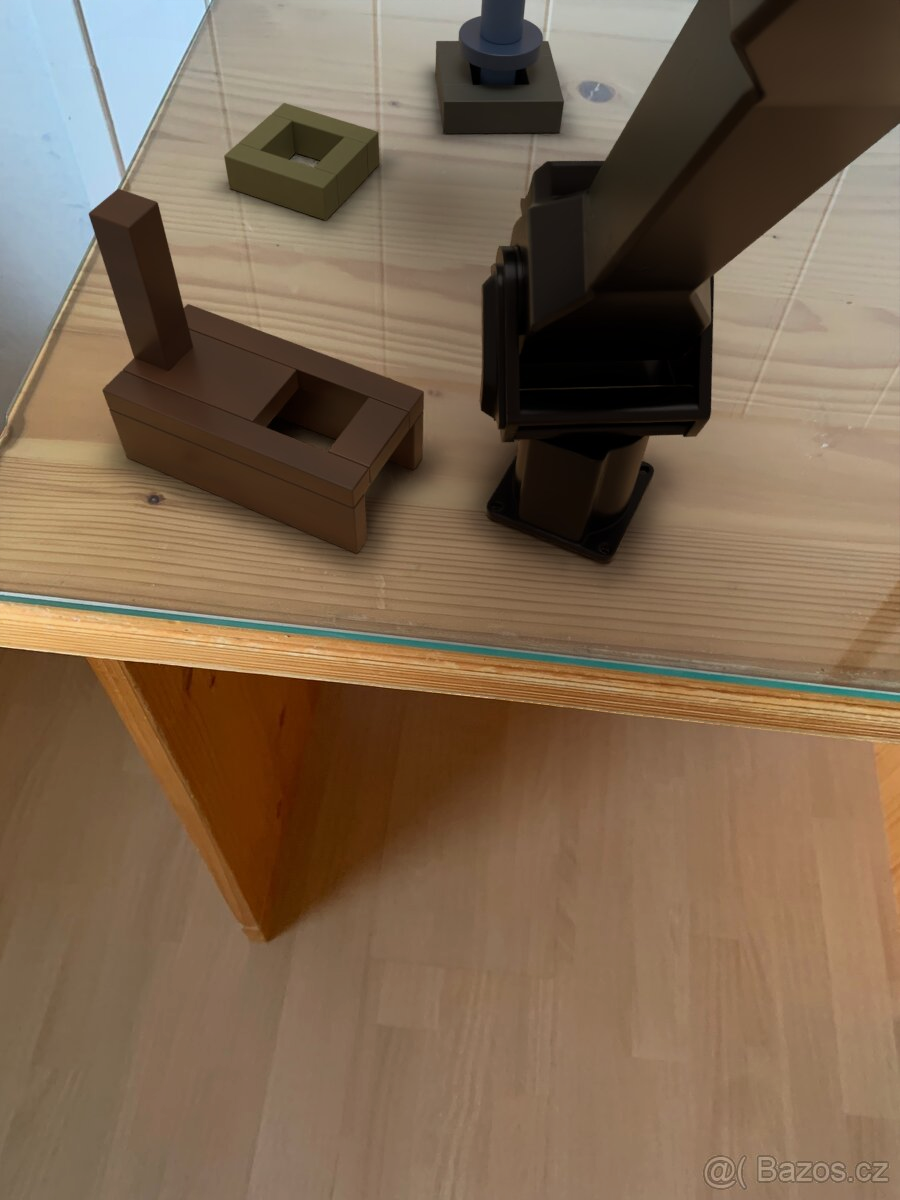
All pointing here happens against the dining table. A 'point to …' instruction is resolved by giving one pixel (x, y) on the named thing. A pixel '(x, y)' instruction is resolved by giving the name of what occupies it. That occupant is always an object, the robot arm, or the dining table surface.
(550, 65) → the block
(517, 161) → the dining table surface
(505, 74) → the peg
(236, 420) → the stand
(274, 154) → the frame
